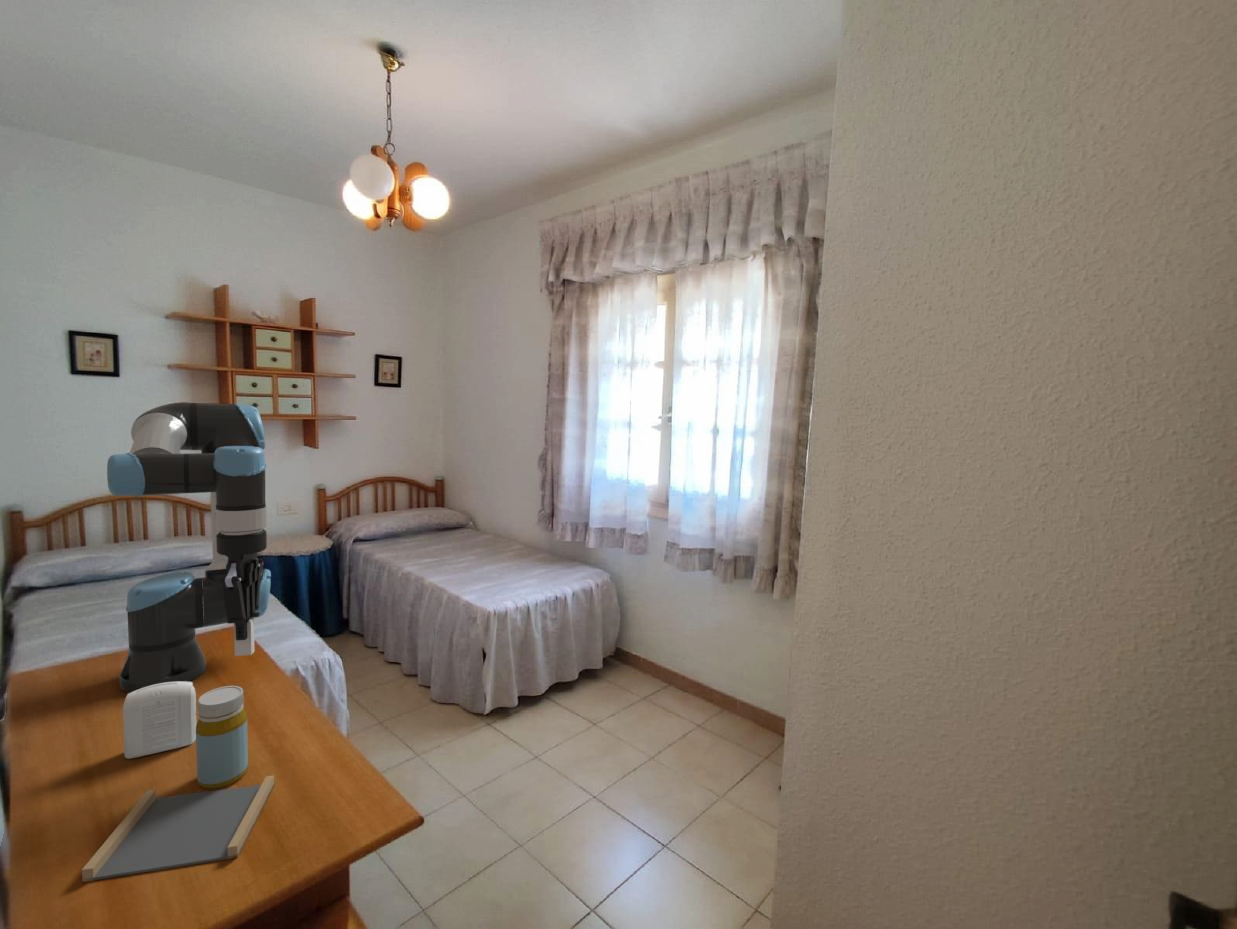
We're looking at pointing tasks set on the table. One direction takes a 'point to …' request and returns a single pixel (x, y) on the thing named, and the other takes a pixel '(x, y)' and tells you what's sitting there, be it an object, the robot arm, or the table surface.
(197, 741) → the bottle
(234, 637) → the robot arm
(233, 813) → the grey tray
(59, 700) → the table surface
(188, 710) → the photo printer
